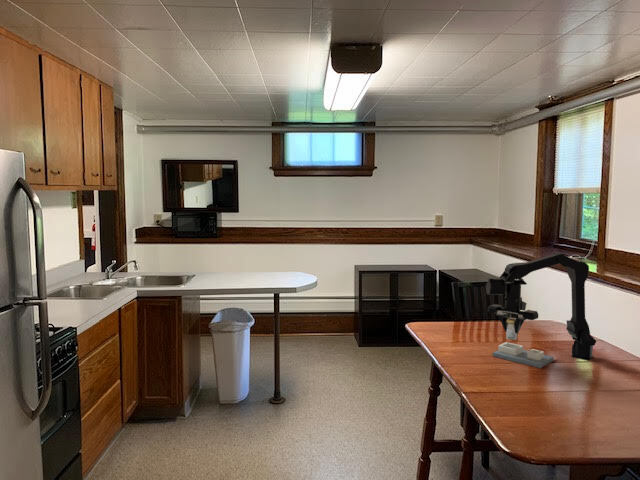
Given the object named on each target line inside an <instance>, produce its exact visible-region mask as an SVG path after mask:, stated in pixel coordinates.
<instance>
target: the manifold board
mask: <svg viewBox="0 0 640 480" xmlns="http://www.w3.org/2000/svg"><path fill="white" fill-rule="evenodd" d="M492 357H494V358H498V359H502V360H506V361H511V362H515V363H518V364H521V365H526V366H530V367H535V368H538V369H542V368H543V367H545V366H547V365H548V364H550V363H551V362H554V356H551V355H548V354H545V351H543V350H538V349H534V348H531V349H530V350H527V349H526V350H525V349H524V345H521V344H518V343H517V344H516V343H513V342H512V343H511V342H506V341H505V342H503V343H501V344H499V345H498V349H497V350H496V351H493V352H492Z"/></svg>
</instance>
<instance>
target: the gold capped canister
mask: <svg viewBox="0 0 640 480" xmlns="http://www.w3.org/2000/svg"><path fill="white" fill-rule="evenodd" d="M506 322H507V329H506V333H505V336H506V337H505V339H507V340H511V341H515V340H517V337H518V334H516V317H508V318H506Z"/></svg>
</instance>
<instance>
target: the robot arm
mask: <svg viewBox="0 0 640 480" xmlns="http://www.w3.org/2000/svg"><path fill="white" fill-rule="evenodd" d="M558 264H559V265H560V266H562V267H564V268H566V270H567V271H566V272H567V275H568V278H569V280H570V282H571V318H570V319H568V320H566V329H565V331H566V330H567V331H568V334H569V335H570V336H571V339H572V341H573V344H571V357H572V358H575V359H580V360H584V361H590V360H592V359H593V358H594V355H593V351H594V350H593V346H595V345H596V344H597V340H596V339H595V338H594V336H592V335H591V330H590V325H589V323H588V322H587V319H586V289H585V288H586V286H585V283H586V282H587V279H588V278H589V272H590V267H589V264H588V263H587V262H585V261H583V260H582V261H581V260H577V259H575V258H572V257H569V256H567V255H565V254H564V253H561V252H554V253H553V254H549V255H546V256H542V257H539V258H536V259H533V260H529V261H525V262H513V263H508V264H507V265H506V266H505V268H504V271H503V272H502V274H501V275H500V276H499V277H498V278H493V277H488V278H487V282H486V284H485V290H486V291H485V292H486V294H487V296H488V295H489V296H494V295H495V296H497V295H498V296H502V295H504V294H505V296H504V297H503V301H504V307H503V305H502V304H495V303H493V304H491V305H489V306H488V307H487V313H490V314H495V315H496V317H497V318H498V320H499V321H500V323H501V326H502V327H503V329H504V332H506V329H507V322H506V318H509V315H513V316H514V315H515V316H518V317H517V318H516V317H515V318H516V334H517V335H518V334H519V332H520V330H521V327H522V326H523V324H524V322H525V321H527V320H528V321H534V320H535V321H536V320H537V319H539V313H538V311H537V310H533V309H532V310H530V309H527V305H528V304H527V302H525V301H523V297H522V295H521V294H522V285H523V286H525V285H527V284H528V283H527V282H526V281H525V280H524V279H523V278H524V277H526V276H528V275H529V274H530V273H532V272H535V271H539V270H543V269H545V268H549V267H552V266H556V265H558ZM526 309H527V310H526Z"/></svg>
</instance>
